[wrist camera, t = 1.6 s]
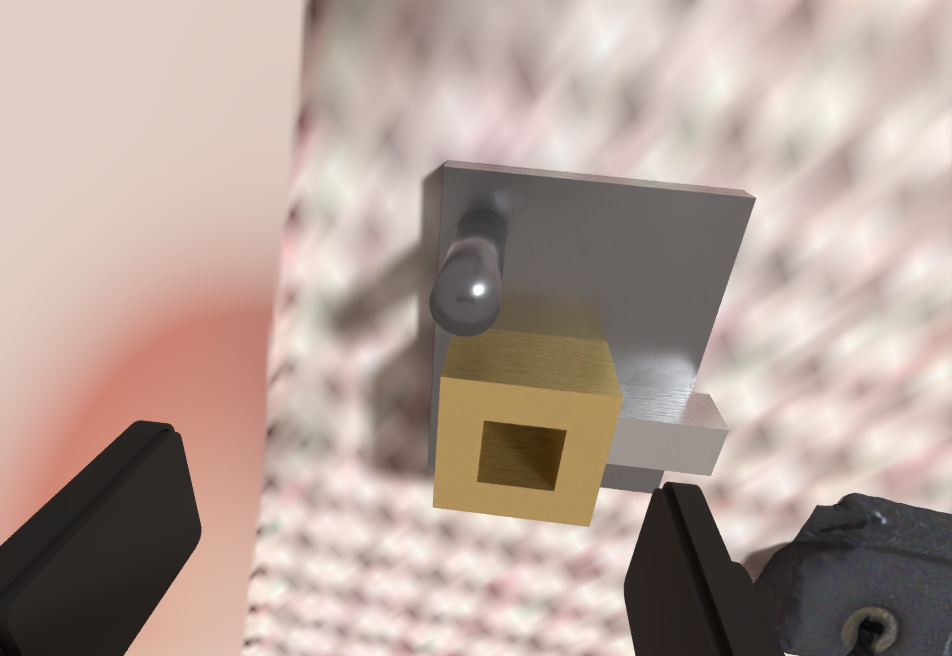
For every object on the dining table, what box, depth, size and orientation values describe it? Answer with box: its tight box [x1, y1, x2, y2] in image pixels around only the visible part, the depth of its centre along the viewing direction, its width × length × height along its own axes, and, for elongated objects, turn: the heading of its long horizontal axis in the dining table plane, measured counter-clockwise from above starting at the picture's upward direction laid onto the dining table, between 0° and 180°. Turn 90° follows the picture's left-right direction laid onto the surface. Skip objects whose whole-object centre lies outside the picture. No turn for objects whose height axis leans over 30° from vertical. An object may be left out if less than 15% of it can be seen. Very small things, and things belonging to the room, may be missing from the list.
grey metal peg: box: [430, 210, 507, 337], centre depth 21 cm, size 2×2×8 cm
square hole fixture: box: [428, 160, 756, 527], centre depth 26 cm, size 18×15×6 cm
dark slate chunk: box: [754, 493, 952, 656], centre depth 34 cm, size 15×22×5 cm
